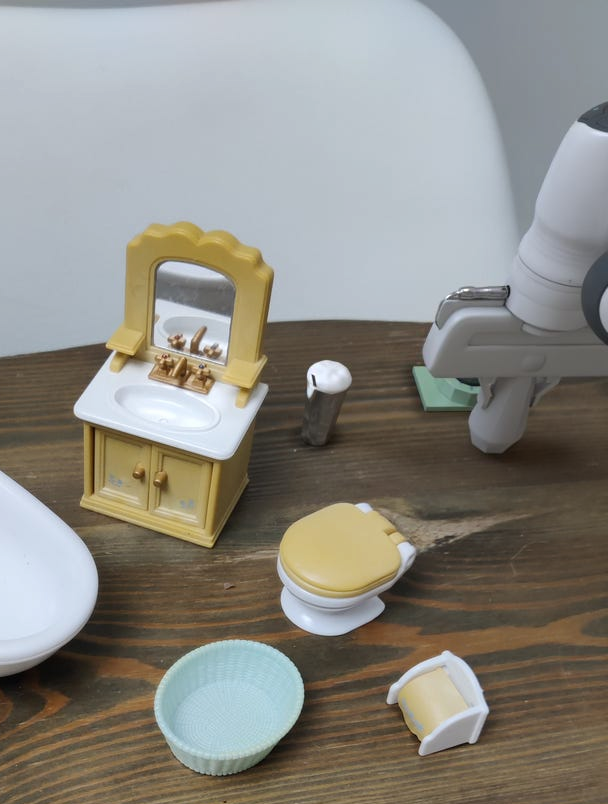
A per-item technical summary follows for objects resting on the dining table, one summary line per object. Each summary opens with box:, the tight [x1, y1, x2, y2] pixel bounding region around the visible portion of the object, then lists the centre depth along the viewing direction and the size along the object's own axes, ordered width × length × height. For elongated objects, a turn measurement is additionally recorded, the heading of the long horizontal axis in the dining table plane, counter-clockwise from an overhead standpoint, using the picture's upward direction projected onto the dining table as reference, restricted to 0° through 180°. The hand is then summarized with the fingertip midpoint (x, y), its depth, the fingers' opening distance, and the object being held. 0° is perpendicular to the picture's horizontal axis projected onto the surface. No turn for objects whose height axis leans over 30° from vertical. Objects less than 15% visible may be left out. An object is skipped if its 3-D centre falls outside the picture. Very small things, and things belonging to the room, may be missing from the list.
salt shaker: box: [467, 354, 546, 454], centre depth 100 cm, size 6×6×13 cm
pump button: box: [456, 378, 481, 386], centre depth 110 cm, size 4×4×2 cm
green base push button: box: [411, 365, 490, 412], centre depth 111 cm, size 11×7×2 cm, turn 92°
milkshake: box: [300, 359, 353, 447], centre depth 103 cm, size 4×5×10 cm
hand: (505, 403), depth 102 cm, fingers closed on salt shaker, 3 cm apart
